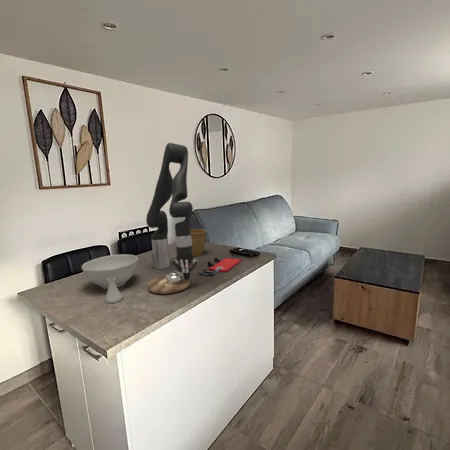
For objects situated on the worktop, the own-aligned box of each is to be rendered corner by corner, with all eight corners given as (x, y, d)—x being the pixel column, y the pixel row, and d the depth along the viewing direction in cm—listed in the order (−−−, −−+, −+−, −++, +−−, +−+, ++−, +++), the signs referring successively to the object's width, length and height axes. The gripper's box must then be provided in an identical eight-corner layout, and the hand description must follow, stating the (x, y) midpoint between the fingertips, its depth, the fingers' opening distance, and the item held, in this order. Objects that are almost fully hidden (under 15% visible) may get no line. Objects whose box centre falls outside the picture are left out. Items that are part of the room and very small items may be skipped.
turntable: (141, 294, 135) (140, 289, 134) (158, 278, 154) (158, 274, 153) (182, 295, 131) (182, 290, 130) (195, 279, 150) (194, 274, 150)
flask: (112, 305, 126) (109, 283, 124) (102, 301, 130) (99, 280, 128) (126, 298, 132) (123, 277, 130) (115, 295, 136) (113, 275, 134)
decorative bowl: (72, 292, 143) (68, 268, 141) (112, 273, 167) (109, 253, 165) (116, 297, 133) (112, 272, 131) (151, 277, 157) (148, 255, 155)
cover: (164, 285, 138) (163, 275, 137) (169, 278, 146) (168, 270, 145) (181, 284, 137) (180, 275, 136) (184, 278, 145) (184, 269, 144)
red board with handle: (195, 274, 157) (220, 278, 151) (195, 269, 157) (220, 273, 150) (220, 259, 184) (242, 261, 177) (220, 255, 183) (242, 257, 177)
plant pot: (206, 257, 188) (205, 232, 185) (183, 258, 189) (181, 234, 186) (208, 251, 203) (206, 228, 200) (187, 252, 203) (185, 229, 200)
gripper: (199, 242, 139) (202, 276, 143) (173, 242, 142) (176, 276, 145) (195, 246, 132) (198, 282, 135) (167, 246, 135) (171, 282, 138)
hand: (186, 279), depth 140 cm, fingers closed
